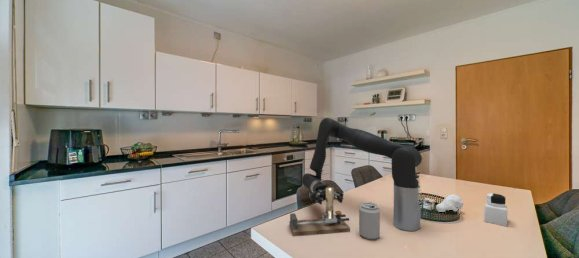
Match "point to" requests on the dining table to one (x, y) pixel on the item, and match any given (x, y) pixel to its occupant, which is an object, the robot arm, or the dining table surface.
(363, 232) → the can
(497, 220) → the medicine bottle
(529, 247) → the dining table surface
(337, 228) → the track
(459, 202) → the white cloth bundle
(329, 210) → the slider
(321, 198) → the robot arm
